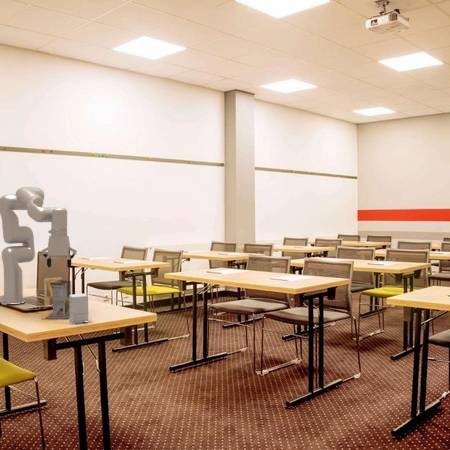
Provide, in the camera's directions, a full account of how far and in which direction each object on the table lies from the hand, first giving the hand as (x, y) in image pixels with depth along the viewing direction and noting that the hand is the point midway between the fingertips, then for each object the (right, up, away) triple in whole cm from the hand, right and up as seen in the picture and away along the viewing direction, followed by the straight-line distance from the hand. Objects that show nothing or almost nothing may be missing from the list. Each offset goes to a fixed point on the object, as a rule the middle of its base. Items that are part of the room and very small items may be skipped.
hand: (59, 267), depth 255 cm
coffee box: (+2, -23, -2) cm, 24 cm away
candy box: (-9, -23, +19) cm, 31 cm away
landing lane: (+1, -24, -2) cm, 24 cm away
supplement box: (+14, -25, -16) cm, 32 cm away
